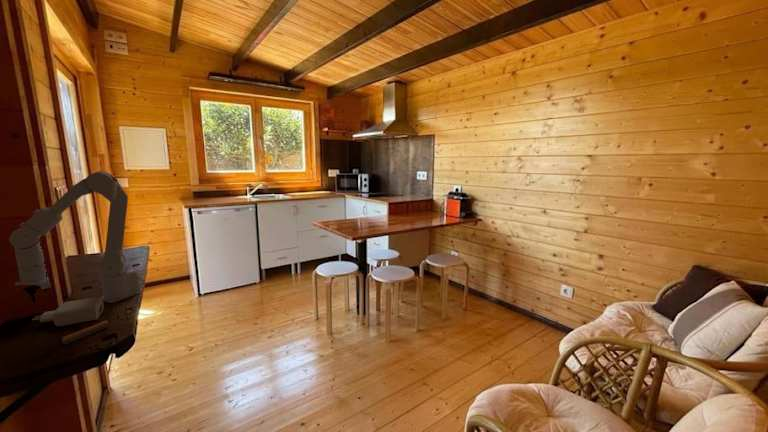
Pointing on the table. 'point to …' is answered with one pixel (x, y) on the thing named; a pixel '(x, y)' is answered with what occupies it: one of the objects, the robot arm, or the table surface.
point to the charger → (74, 312)
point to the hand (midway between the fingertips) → (39, 305)
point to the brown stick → (85, 332)
